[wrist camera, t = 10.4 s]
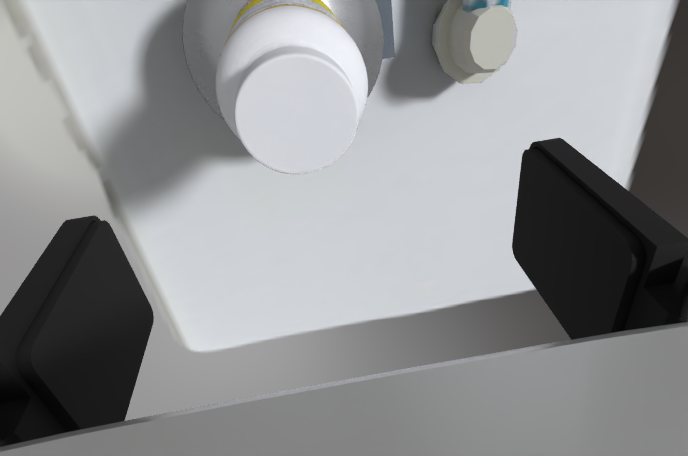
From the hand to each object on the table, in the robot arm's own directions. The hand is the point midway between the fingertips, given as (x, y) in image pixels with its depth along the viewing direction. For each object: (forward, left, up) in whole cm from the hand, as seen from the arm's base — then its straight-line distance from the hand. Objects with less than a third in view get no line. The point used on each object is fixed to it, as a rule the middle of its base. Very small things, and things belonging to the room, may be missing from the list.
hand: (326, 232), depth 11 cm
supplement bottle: (0, -1, -21) cm, 21 cm away
